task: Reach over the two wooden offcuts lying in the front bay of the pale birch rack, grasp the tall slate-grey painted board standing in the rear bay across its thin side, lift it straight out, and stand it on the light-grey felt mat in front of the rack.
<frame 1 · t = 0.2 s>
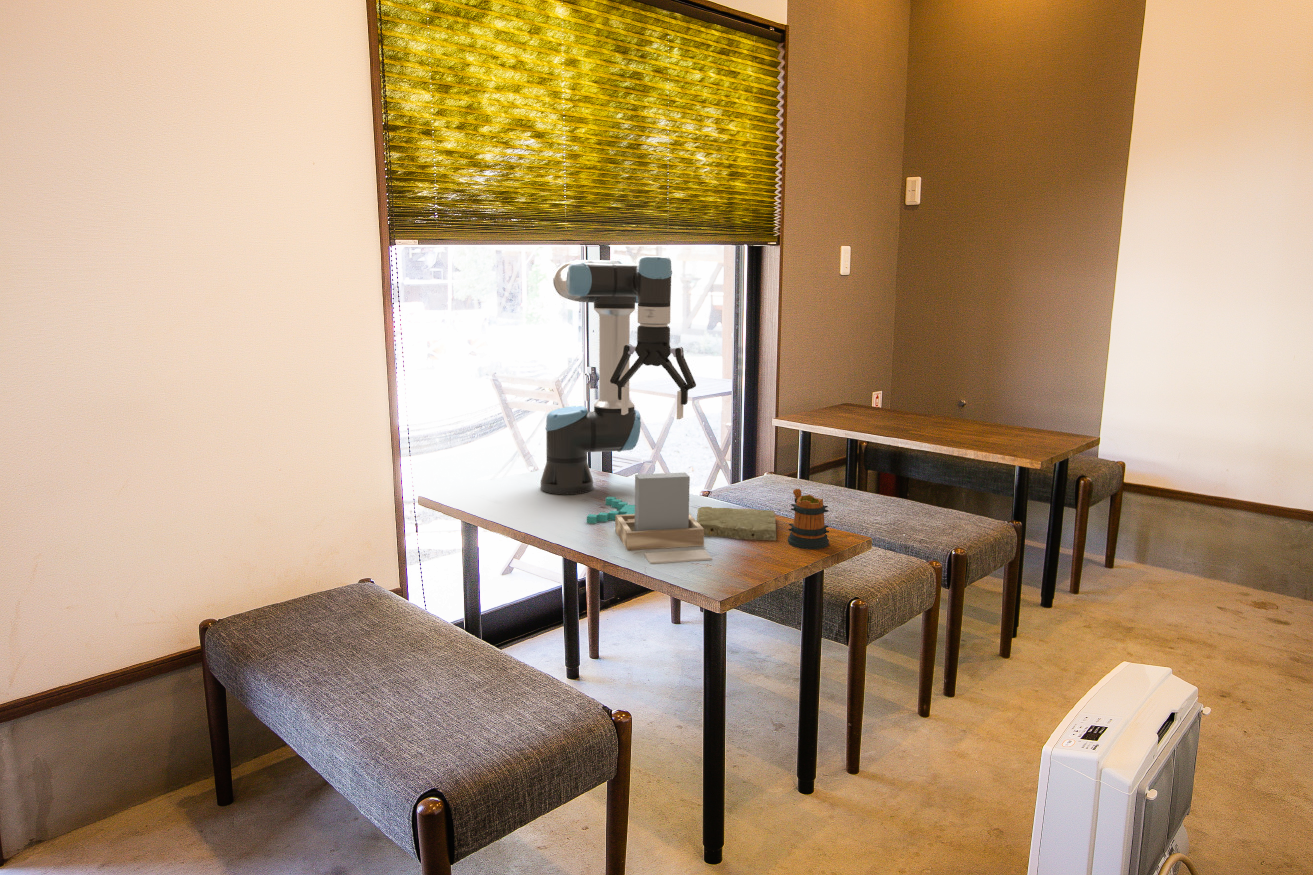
hand: (652, 416, 206), 29 cm above the table, fingers open, 13 cm apart
slate board: (661, 541, 206), resting in rack
rack: (658, 537, 209), on the table
oak offcut: (638, 534, 212), resting in rack
walnut offcut: (670, 532, 213), resting in rack
alien figure: (634, 517, 228), on the table
felt mat: (678, 557, 195), on the table
decorative tile: (735, 530, 218), on the table
mug: (805, 541, 208), on the table
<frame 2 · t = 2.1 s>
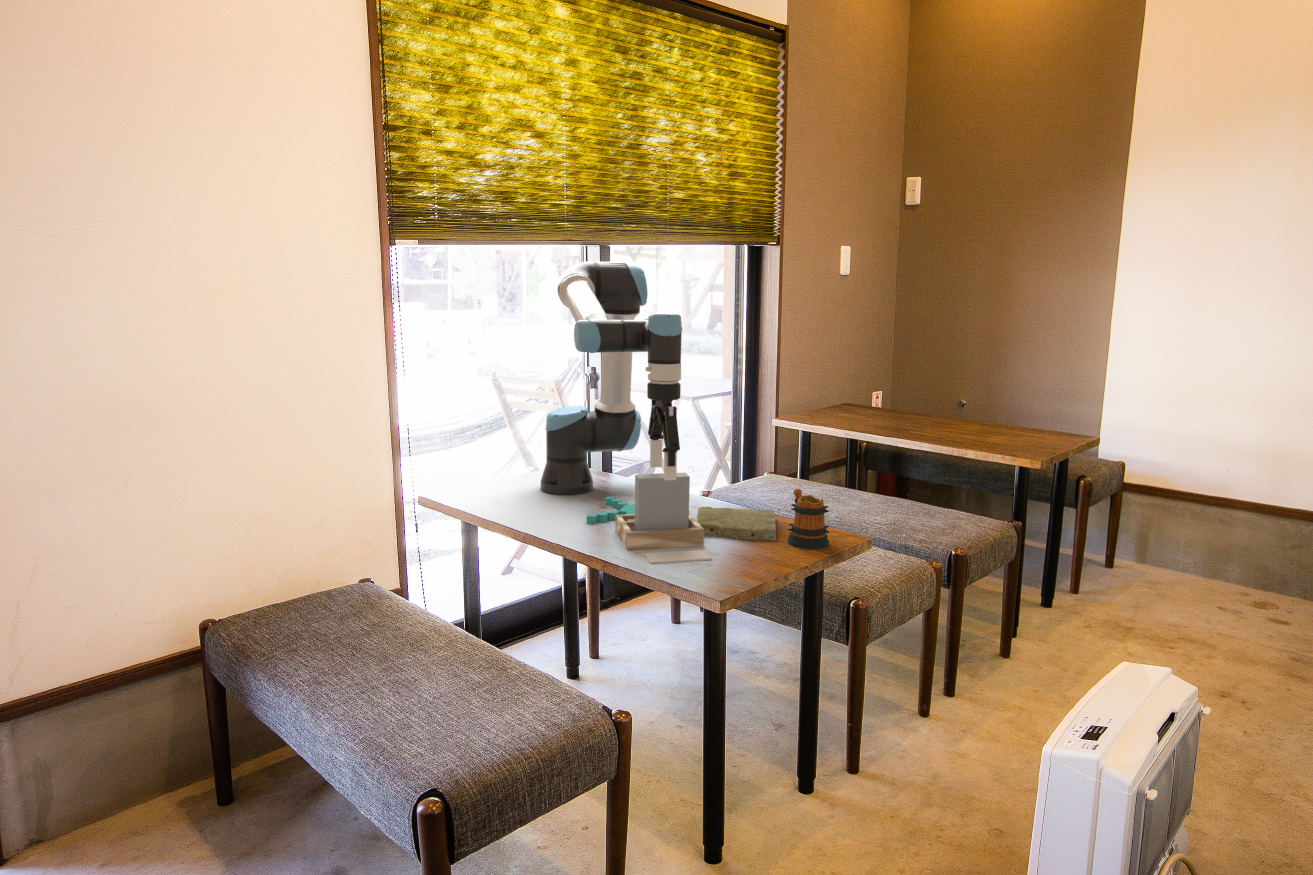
hand: (662, 473, 202), 17 cm above the table, fingers open, 13 cm apart
nothing on the table moved.
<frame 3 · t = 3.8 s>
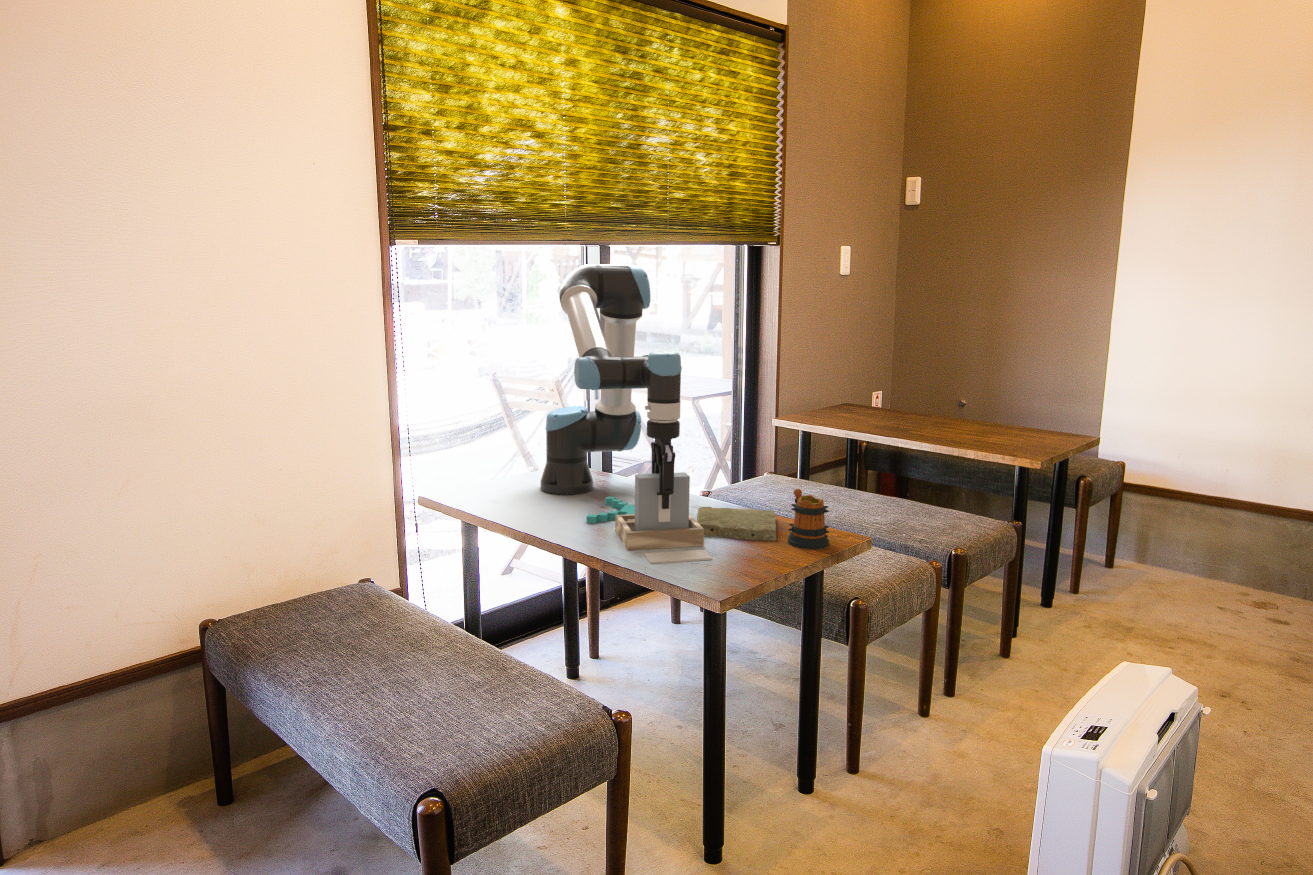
hand: (661, 518, 205), 6 cm above the table, fingers closed on slate board, 4 cm apart
slate board: (661, 541, 206), resting in rack, touching gripper
everything else where it was.
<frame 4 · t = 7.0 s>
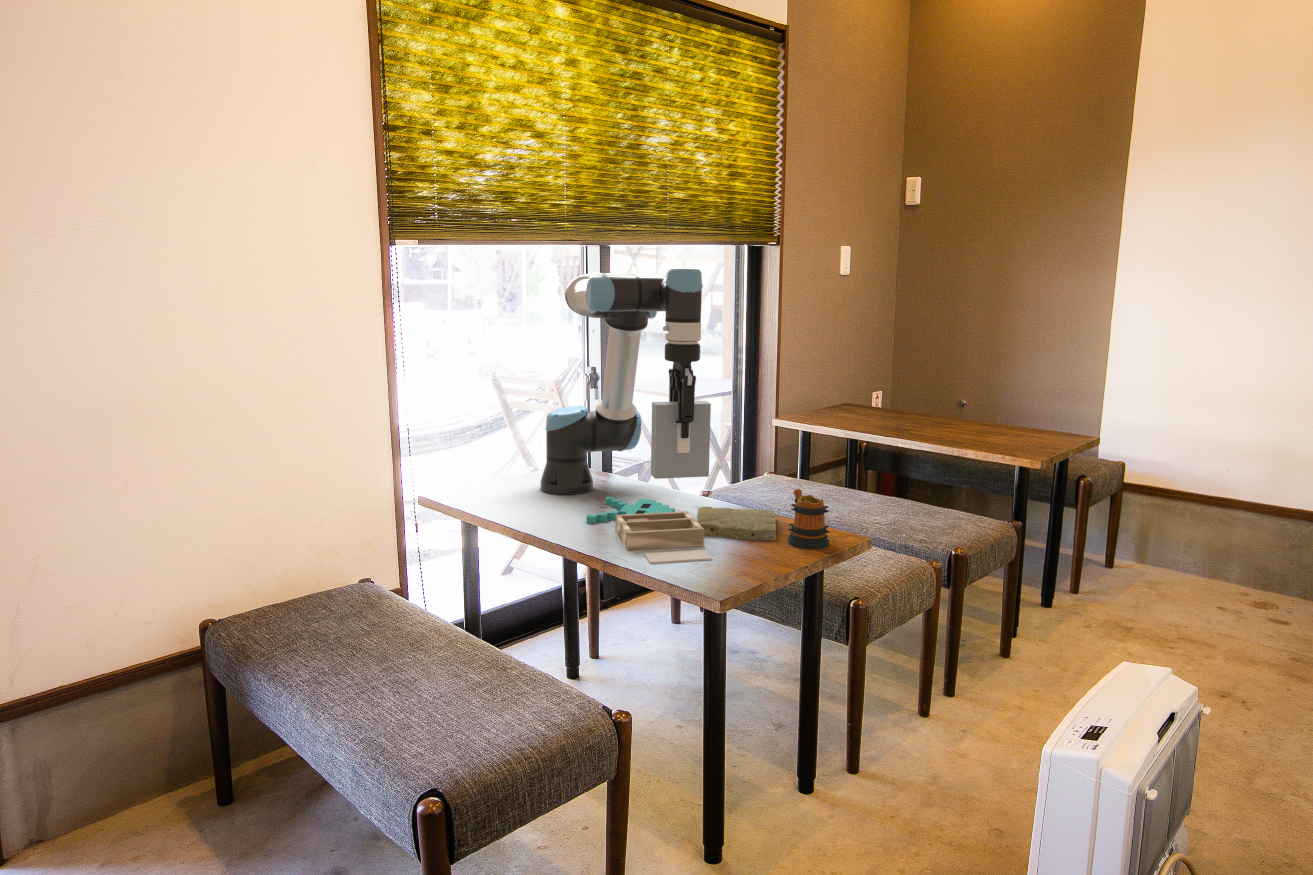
hand: (680, 449, 190), 24 cm above the table, fingers closed on slate board, 4 cm apart
slate board: (679, 475, 191), point 19 cm above the table, touching gripper
everything else where it was.
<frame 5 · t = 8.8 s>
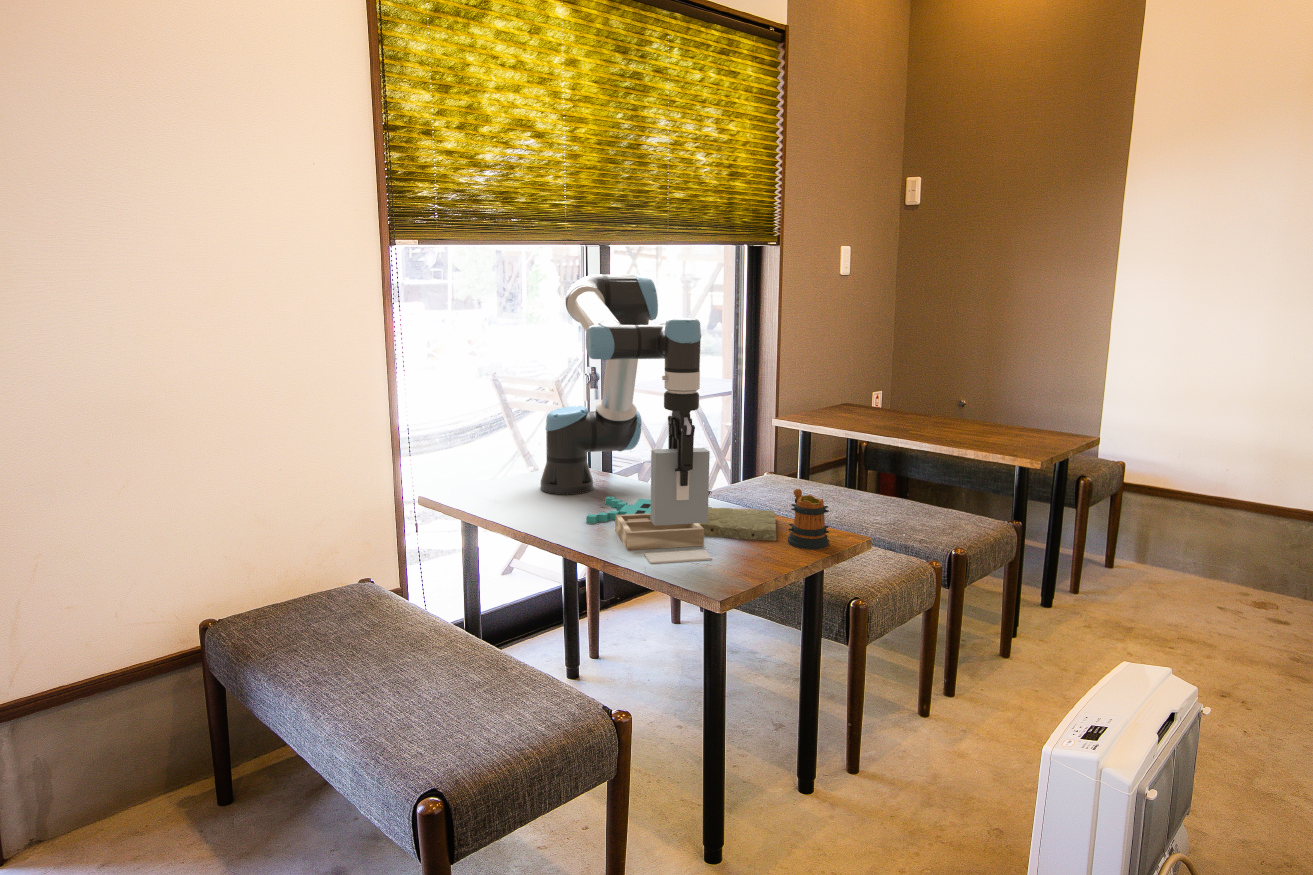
hand: (679, 496, 192), 14 cm above the table, fingers closed on slate board, 4 cm apart
slate board: (679, 521, 193), point 8 cm above the table, touching gripper
everything else where it was.
when the fingers open (6 cm above the table, at t = 10.5 s): slate board stays where it is, resting on felt mat.
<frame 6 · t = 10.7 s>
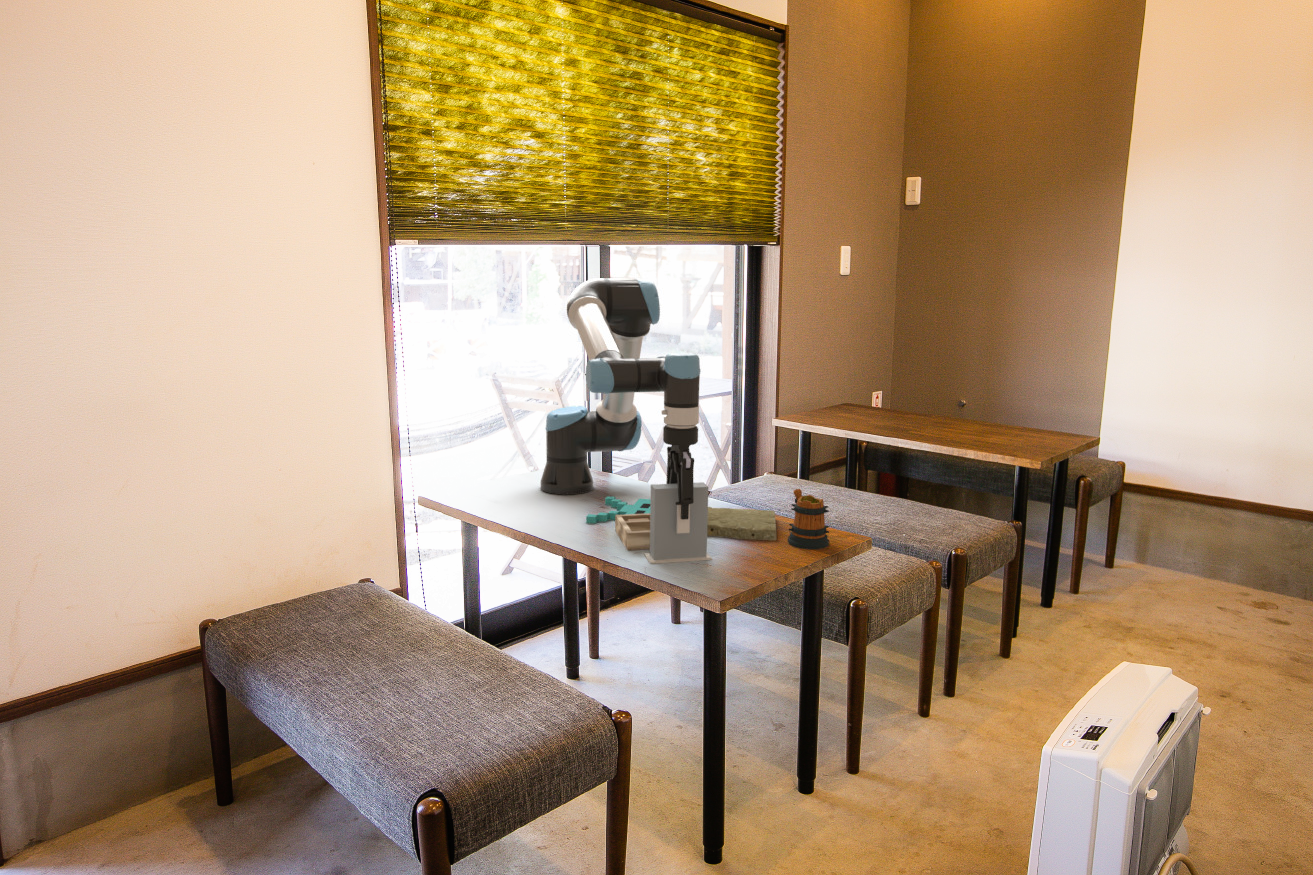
hand: (678, 527, 194), 7 cm above the table, fingers open, 7 cm apart
slate board: (678, 555, 195), resting on felt mat
everything else where it was.
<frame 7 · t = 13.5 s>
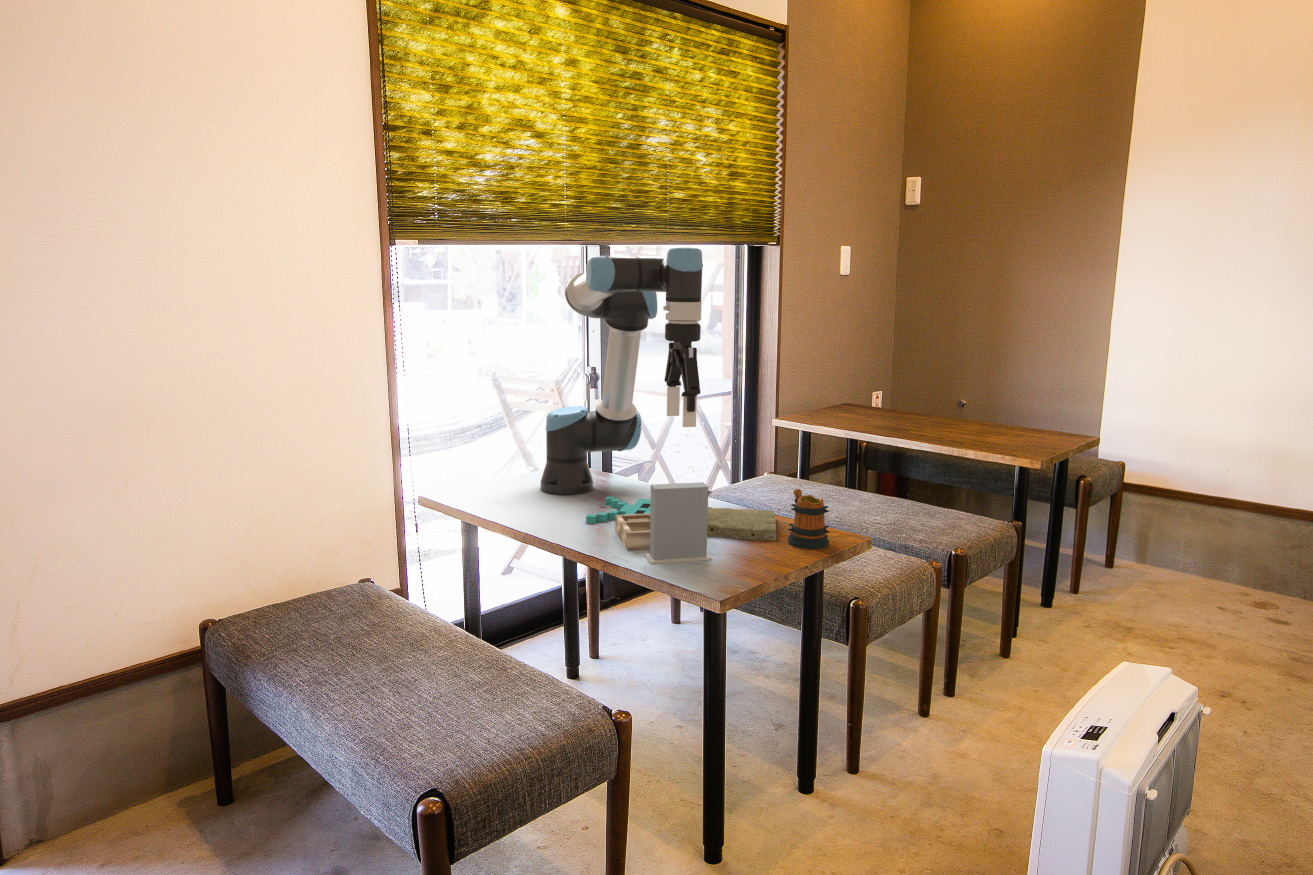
hand: (680, 421, 189), 31 cm above the table, fingers open, 13 cm apart
nothing on the table moved.
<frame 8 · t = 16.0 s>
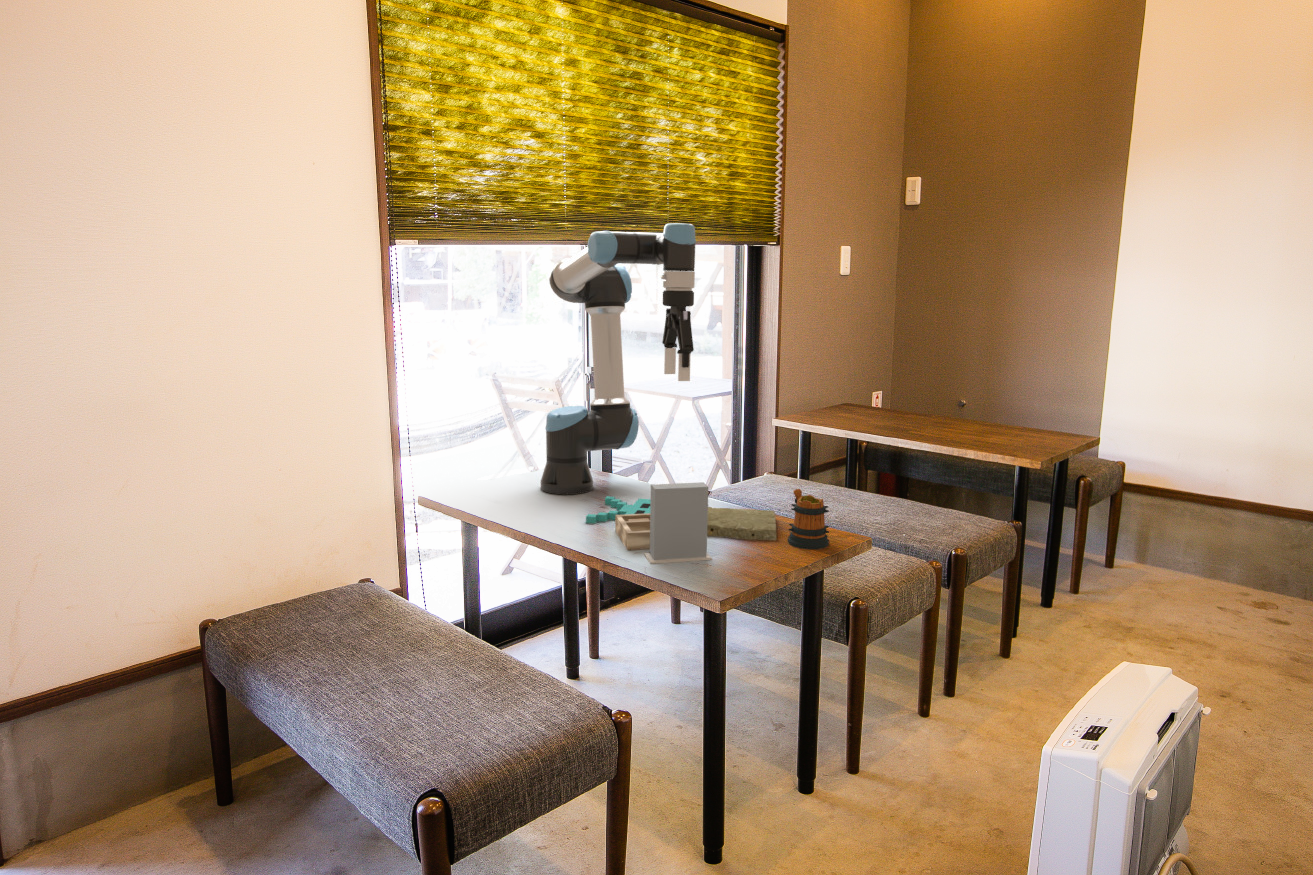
hand: (676, 377, 215), 37 cm above the table, fingers open, 13 cm apart
nothing on the table moved.
at the end: slate board inside the target area on the felt mat (0.1 cm from its centre), point 0.4 cm above the felt mat's base; slate board tilted 0°; the gripper is holding nothing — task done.
